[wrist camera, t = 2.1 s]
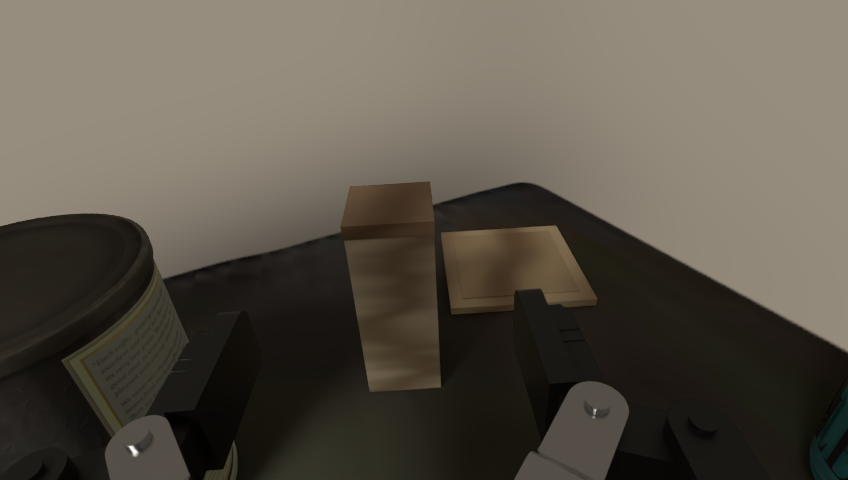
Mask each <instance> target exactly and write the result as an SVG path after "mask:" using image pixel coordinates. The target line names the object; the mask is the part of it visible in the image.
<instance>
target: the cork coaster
mask: <svg viewBox="0 0 848 480" xmlns="http://www.w3.org/2000/svg"><path fill="white" fill-rule="evenodd" d="M441 240H442V247H443V255H444V262H445V270H446V278H447V285H448V293H449V300H450V308H451V315H452V314H468V313H484V312H499V311H514V293H515V290H525V289H537V288H540V289H541V290H542V292H543V294H544V296H545V299H546V301H547V303H548V305H555V304H561V305H562V306H563V307H578V306H594V305H597V300H598V299H597V297H596V295H595V294H594V292H593V290H592V288H591V286H590V285H589V283H588V281H587V279H586V278H585V276H584V274H583V272H582V271H581V269H580V267H579V265H578V263H577V262H576V260H575V258H574V256H573V255H572V253H571V251H570V249H569V247H568V246H567V244H566V242H565V240H564V239H563V237H562V235H561V233H560V231H559V230H558V228H557V226H541V227H526V228H510V229H494V230H478V231H462V232H446V233H441Z"/></svg>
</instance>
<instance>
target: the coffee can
mask: <svg viewBox="0 0 848 480" xmlns="http://www.w3.org/2000/svg"><path fill="white" fill-rule="evenodd" d="M188 342H189V340H188V338H187V336H186V333H185V331H184V329H183V326H182V324H181V322H180V319H179V317H178V315H177V312H176V310H175V308H174V305H173V303H172V301H171V298H170V296H169V294H168V292H167V289H166V287H165V285H164V282H163V280H162V277H161V275H160V273H159V271H158V268H157V266H156V263H155V261H154V259H153V249H152V246H151V243H150V240H149V237H148V235H147V234H146V232H145V231H144V229H143V228H142V227H141V226H140V225H138V224H137V223H135V222H134V221H132V220H130V219H126V218H123V217H120V216H114V215H107V214H68V215H58V216H50V217H44V218H36V219H31V220H26V221H21V222H16V223H12V224H8V225H4V226H0V477H1V476H2V475H3V473H4V472H5V471H6V470H7V469H8V468H10V467H11V466H12V465H13V464H14V463H16V462H17V461H19V460H20V459H22V458H23V457H25V456H27V455H29V454H31V453H33V452H35V451H37V450H41V449H44V448H49V447H57V448H61V449H63V450H64V451H65V452H66V453H67V455H68V456H69V457H70V458H73V457H76V456H79V455H82V454H85V453H88V452H91V451H94V450H97V449H100V448H103V447H106V446H107V445H108V443H109V442H110V440H111V439H112V437H113V436H114V435H115V434H116V433H117V432H118V431H119V430H120V429H122V428H123V427H124V426H126V425H127V424H129V423H130V422H132V421H134V420H136V419H139V418H141V417H145V415H146V413H147V411H148V410H149V408H150V406H151V404H152V403H153V401H154V399H155V397H156V396H157V394H158V392H159V391H160V389H161V387H162V385H163V384H164V382H165V380H166V378H167V377H168V375H169V374H170V373H171V370H172V368H173V366H174V364H175V363H176V362H178V357H179V356H180V354H181V352H182V351H183V349H184V347H185V345H186V344H187V343H188ZM237 469H238V462H237V450H236V446H235V442H234V441H233V444H232V447H231V450H230V452H229V455H228V458H227V461H226V464H225V466H224V469H222V470H209V471H207V472H206V474H205V477H204V479H203V480H236V476H237Z"/></svg>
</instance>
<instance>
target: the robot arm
mask: <svg viewBox="0 0 848 480" xmlns="http://www.w3.org/2000/svg"><path fill="white" fill-rule="evenodd" d="M513 339H514V346H515V350H516V354H517V357H518V361H519V364H520V368H521V371H522V375H523V378H524V382H525V385H526V389H527V392H528V396H529V399H530V402H531V406H532V409H533V413H534V416H535V420H536V423H537V427H538V430H539V434H540V437H541V441H542V443H541V445H540V447H539V448H538V450H537V451H535V450H532V451H531V452H530V453H529V454H528V456H527V457H526V459H525V461H524V463H523V464H522V466H521V468H520V470H519V472H518V474H517V476H516V477H515V479H514V480H770V478H769V477H768V475H767V474H766V472H765V470H764V469H763V467H762V466H761V464H760V463H759V461H758V460H757V458H756V457H755V455H754V453H753V452H752V450H751V449H750V447H749V446H748V444H747V443H746V441H745V439H744V438H743V436H742V435H741V433H740V432H739V430H738V429H737V427H736V425H735V424H734V423H733V421H732V420H731V419H730V418H729V417H728V416H727V415H726V414H725V413H724V412H722V411H721V410H719V409H718V408H716V407H714V406H713V405H711V404H708V403H705V402H702V401H698V400H690V399H687V400H681V401H677V402H675V403H674V404H673V405H671V407H670V408H669V411H668V412H666V411H661V410H656V409H651V408H645V407H641V406H637V405H634V404H631V403H629V402H627V401H626V400H625V399H624V397H623V396H622V395H621V394H620V393H619V392H618V391H616V390H615V389H614V388H612V387H610V386H608V385H607V384H606V382H605V380H604V378H603V376H602V374H601V372H600V370H599V368H598V366H597V364H596V361H595V359H594V357H593V355H592V353H591V351H590V349H589V347H588V345H587V343H586V342H585V339H584V337H583V335H582V332H581V331H580V328H579V326H578V324H577V322H576V320H575V318H574V316H573V315H572V314H571V313H570V312H569V311H568V310H567V309H566V308H564V307H563V306H562V305H561V304H555V305H548V303H547V301H546V299H545V296H544V294H543V292H542V290H541V289H540V288H537V289H525V290H515V293H514V313H513ZM260 363H261V353H260V348H259V345H258V342H257V339H256V336H255V333H254V331H253V328H252V325H251V322H250V319H249V316H248V314H247V313H246V312H245V311H235V312H222V313H218V314H216V316H215V317H214V319H213V321H212V323H211V325H210V326H209V328H208V330H207V331H200V332H199V333H198V334H197V335H196V336H195V337H194V338H192V339H191V340H190V341H189V342H188V343H187V344H186V345H185V347H184V349H183V351H182V352H181V354H180V356H179V357H178V362H176V363H175V364H174V366H173V368H172V370H171V373H170V374H169V375H168V377H167V378H166V380H165V382H164V384H163V385H162V387H161V389H160V391H159V392H158V394H157V396H156V397H155V399H154V401H153V403H152V404H151V406H150V408H149V410H148V411H147V413H146V415H145V417H141V418H139V419H136V420H134V421H132V422H130V423H129V424H127V425H126V426H124V427H123V428H122V429H120V430H119V431H118V432H117V433H116V434H115V435H114V436H113V437H112V439H111V440H110V442H109V443H108V445H107V446H106V447H103V448H100V449H97V450H94V451H91V452H88V453H85V454H82V455H79V456H76V457H73V458H70V457H69V456H68V455H67V453H66V452H65V451H64V450H63V449H61V448H57V447H49V448H44V449H41V450H37V451H35V452H33V453H31V454H29V455H27V456H25V457H23V458H22V459H20V460H19V461H17V462H16V463H14V464H13V465H12V466H11V467H10V468H8V469H7V470H6V471H5V472H4V473H3V475H2V476H1V477H0V480H203V479H204V477H205V474H206V472H207V471H209V470H222V469H224V466H225V464H226V461H227V458H228V455H229V452H230V450H231V447H232V444H233V441H234V438H235V436H236V433H237V430H238V427H239V425H240V422H241V419H242V416H243V413H244V411H245V408H246V405H247V402H248V399H249V397H250V394H251V391H252V388H253V385H254V383H255V380H256V377H257V374H258V372H259V368H260Z"/></svg>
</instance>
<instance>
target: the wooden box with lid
mask: <svg viewBox="0 0 848 480" xmlns="http://www.w3.org/2000/svg"><path fill="white" fill-rule="evenodd" d="M341 232H342V238H343V241H344V243H345V248H346V254H347V260H348V266H349V272H350V278H351V284H352V290H353V296H354V302H355V308H356V314H357V319H358V325H359V331H360V337H361V343H362V349H363V355H364V361H365V367H366V373H367V379H368V384H369V390H370V392H379V391H394V390H410V389H425V388H440V387H441V376H440V354H439V332H438V310H437V289H436V267H435V245H434V235H435V223H434V213H433V204H432V196H431V188H430V182H416V183H400V184H386V185H385V184H384V185H369V186H352V187H350V189H349V193H348V197H347V202H346V206H345V210H344V215H343V219H342V224H341Z"/></svg>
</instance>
